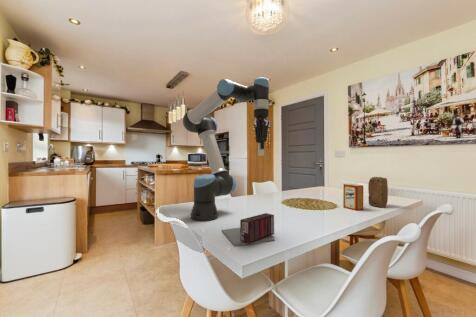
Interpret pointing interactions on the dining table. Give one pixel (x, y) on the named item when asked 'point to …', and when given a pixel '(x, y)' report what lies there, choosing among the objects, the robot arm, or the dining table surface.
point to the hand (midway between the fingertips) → (261, 155)
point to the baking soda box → (353, 197)
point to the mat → (235, 237)
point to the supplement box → (256, 227)
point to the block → (378, 191)
